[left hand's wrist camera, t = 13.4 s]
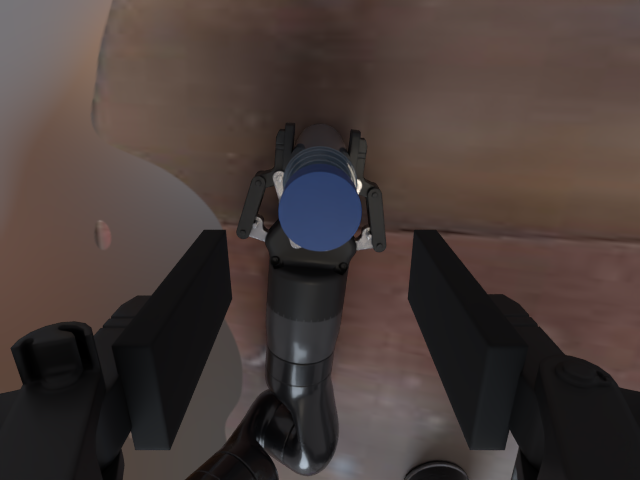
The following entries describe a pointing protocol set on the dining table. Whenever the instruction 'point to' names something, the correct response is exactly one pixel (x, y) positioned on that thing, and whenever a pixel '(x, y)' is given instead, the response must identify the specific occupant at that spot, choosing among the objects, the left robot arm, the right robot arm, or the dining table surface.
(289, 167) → the bottle
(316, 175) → the cap
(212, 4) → the dining table surface
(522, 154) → the dining table surface
